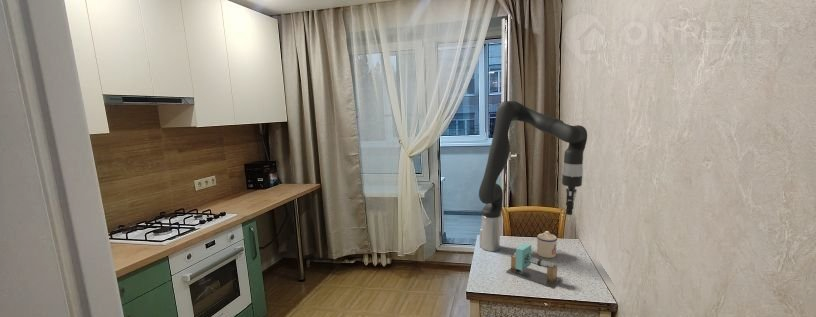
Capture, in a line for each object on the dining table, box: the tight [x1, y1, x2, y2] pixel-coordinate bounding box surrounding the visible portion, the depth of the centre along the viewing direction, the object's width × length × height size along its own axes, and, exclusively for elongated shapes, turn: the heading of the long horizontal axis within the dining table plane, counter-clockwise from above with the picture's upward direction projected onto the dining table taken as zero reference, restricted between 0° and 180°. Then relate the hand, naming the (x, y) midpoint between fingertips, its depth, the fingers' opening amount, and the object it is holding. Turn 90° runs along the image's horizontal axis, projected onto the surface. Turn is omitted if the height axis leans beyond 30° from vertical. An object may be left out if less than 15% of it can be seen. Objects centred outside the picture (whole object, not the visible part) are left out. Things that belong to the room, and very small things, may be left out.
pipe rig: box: [506, 251, 562, 289], centre depth 153 cm, size 20×9×8 cm, turn 45°
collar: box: [515, 243, 532, 270], centre depth 155 cm, size 3×8×9 cm, turn 135°
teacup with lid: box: [536, 230, 558, 259], centre depth 176 cm, size 12×9×12 cm
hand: (569, 211), depth 152 cm, fingers open, 8 cm apart
